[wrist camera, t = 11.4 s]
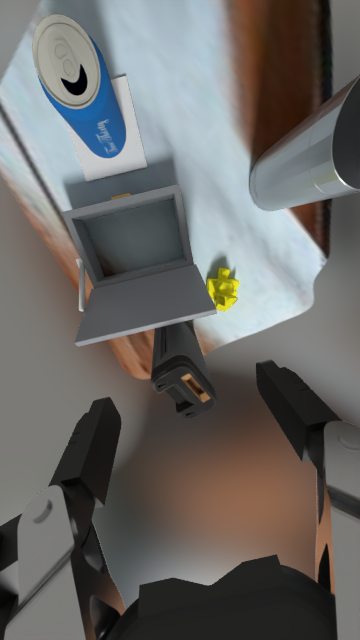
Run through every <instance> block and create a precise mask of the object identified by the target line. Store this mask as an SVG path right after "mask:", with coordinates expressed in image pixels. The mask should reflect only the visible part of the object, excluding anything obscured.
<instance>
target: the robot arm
mask: <svg viewBox="0 0 360 640" xmlns="http://www.w3.org/2000/svg"><path fill="white" fill-rule="evenodd" d="M249 188H250V194H251V197H252V199H253V201H254V203H255V204H256V205H257V206H258V207H259V208H261V209H263V210H266V211H275V210H280V209H284V208H290V207H294V206H298V205H303V204H307V203H312V202H316V201H321V200H325V199H330V198H334V197H339V196H343V195H347V194H351V193H355V192H360V74H359V75H358V76H357V77H356V78H354V79H353V80H352V81H351V82H350V83H348V84H347V85H346V86H345V87H344V88H342V89H341V90H340V91H339V92H338V93H336V94H335V95H334V96H333V97H331V98H330V99H329V100H328V101H327V102H325V103H324V104H323V105H322V106H320V107H319V108H318V109H317V110H316V111H314V112H313V113H312V114H311V115H309V116H308V117H307V118H306V119H305V120H303V121H302V122H301V123H300V124H298V125H297V126H296V127H295V128H294V129H292V130H291V131H290V132H289V133H287V134H286V135H285V136H284V137H283V138H281V139H280V140H279V141H277V142H276V143H275V144H274V145H273V146H271V147H270V148H269V149H268V150H267V151H265V152H264V153H263V154H262V155H261V156H260V157H259V159H258V160H257V161H256V163H255V165H254V167H253V169H252V172H251V176H250V184H249ZM256 374H257V375H256V377H257V387H258V390H259V393H260V395H261V397H262V398H263V400H264V401H265V403H266V405H267V406H268V408H269V410H270V411H271V413H272V414H273V416H274V418H275V419H276V421H277V422H278V424H279V426H280V427H281V429H282V431H283V432H284V434H285V435H286V437H287V439H288V440H289V442H290V443H291V445H292V447H293V448H294V450H295V451H296V453H297V455H298V456H299V458H300V460H301V461H302V462H306V461H310V460H311V461H312V463H313V464H314V466H315V467H316V469H317V471H316V476H317V479H316V480H317V481H316V482H317V537H316V581H315V580H313V579H312V578H310V577H309V576H307V575H306V574H304V573H302V572H300V571H298V570H296V569H294V568H291V567H288V566H285V565H280V562H279V560H278V557H277V555H272V556H268V557H263V558H259V559H254V560H250V561H245V562H242V563H241V564H240V565H238V566H237V567H236V568H234V569H233V570H232V571H230V572H229V573H227V574H226V575H225V576H224V577H222V578H221V579H219V580H218V581H217V582H215V583H214V584H212V585H209V586H207V585H202V584H198V583H193V582H189V581H185V580H181V579H177V578H169V579H165V580H160V581H156V582H152V583H148V584H143V585H140V587H139V588H140V589H139V598H138V599H137V600H136V601H135V602H133V603H132V604H131V605H130V606H129V607H128V608H127V610H126V608H125V605H124V602H123V599H122V597H121V595H120V592H119V590H118V588H117V586H116V584H115V583H114V581H113V579H112V577H111V575H110V572H109V570H108V567H107V564H106V560H105V557H104V554H103V551H102V548H101V545H100V542H99V539H98V536H97V532H96V529H95V526H94V523H93V521H92V515H93V511H94V509H95V508H99V507H104V505H105V501H106V496H107V491H108V487H109V482H110V477H111V473H112V468H113V463H114V458H115V454H116V449H117V444H118V439H119V435H120V430H121V417H120V414H119V413H118V411H117V409H116V407H115V405H114V403H113V401H112V400H111V398H110V397H107V398H102V399H98V400H95V401H93V403H92V405H91V408H90V410H89V412H88V413H85V414H84V415H83V416H82V418H81V419H80V420H79V421H78V423H77V425H76V427H75V429H74V432H73V433H72V436H71V438H70V440H69V442H68V446H67V447H66V449H65V451H64V453H63V455H62V458H61V460H60V462H59V464H58V466H57V469H56V471H55V473H54V475H53V478H52V480H51V482H50V484H49V486H48V487H47V488H45V489H44V490H42V491H41V492H40V493H38V494H37V495H36V496H35V497H34V498H33V499H32V500H31V502H30V503H29V504H28V506H27V507H26V508H25V510H24V512H23V513H22V514H20V515H19V516H17V517H15V518H13V519H12V520H10V521H8V522H7V523H5V524H3V525H2V526H0V640H360V428H359V427H358V426H356V425H353V424H351V423H348V422H344V421H342V420H341V419H340V418H339V417H338V416H337V415H336V414H335V413H334V412H333V411H332V410H331V409H330V408H329V407H328V406H327V405H326V404H325V403H324V402H323V401H322V400H321V399H320V398H319V397H318V396H317V395H316V394H315V393H314V392H313V390H311V389H310V388H309V386H308V385H307V384H306V383H304V382H303V380H302V379H301V378H300V377H299V376H298V375H297V374H296V373H295V372H292V371H291V370H289V369H287V368H285V367H283V368H279V367H278V366H277V365H276V364H275V363H274V362H273V361H272V360H267V361H263V362H258V363H256Z"/></svg>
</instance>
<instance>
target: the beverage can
mask: <svg viewBox="0 0 360 640" xmlns="http://www.w3.org/2000/svg"><path fill="white" fill-rule="evenodd" d="M32 51H33V59H34V64H35V67H36V71H37V73H38V77H39V80H40V83H41V86H42V88H43V90H44V92H45V94H46V96H47V98H48V99H49V101H50V102H51V103H52V105H53V106H54V107H55V108H56V110H57V111H58V112H59V113H60V114H61V116H62V117H63V118H64V119H65V120H66V122H67V123H68V124H69V125H70V126H71V128H72V129H73V130H74V131H75V132H76V134H77V135H78V136H79V137H80V138H81V140H82V141H83V142H84V143H85V144H86V146H87V147H88V148H89V149H90V150H91V151H92V152H93V153H94V154H96V155H97V156H99V157H102V158H113V157H115V156H117V155H118V154H119V153H120V152H121V151H122V150H123V148H124V145H125V142H126V126H125V122H124V119H123V116H122V113H121V110H120V107H119V104H118V101H117V98H116V95H115V92H114V89H113V86H112V83H111V80H110V77H109V74H108V71H107V68H106V64H105V62H104V59H103V56H102V54H101V52H100V50H99V49H98V47H97V45H96V44H95V42H94V41H93V40H92V38H91V37H90V36H89V35H88V34H87V33H86V32H85V31H84V29H83V28H82V27H81V26H80V25H79V24H78V23H76V22H75V21H74V20H72V19H71V18H69V17H67V16H64V15H60V14H52V15H49V16H47V17H45V18H44V19H43V20H41V21H40V23H39V24H38V26H37V28H36V30H35V33H34V37H33V44H32Z"/></svg>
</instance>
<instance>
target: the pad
mask: <svg viewBox="0 0 360 640" xmlns="http://www.w3.org/2000/svg"><path fill="white" fill-rule="evenodd" d="M111 83H112V86H113V89H114V92H115V95H116V98H117V101H118V104H119V107H120V110H121V113H122V116H123V119H124V122H125V126H126V142H125V145H124V148H123V150H122V151H121V152H120V153H119V154H118V155H117V156H115V157H113V158H102V157H99V156H97V155H96V154H94V153H93V152H92V151H91V150H90V149H89V148H88V147H87V146H86V144H85V143H84V142H83V141H82V140H81V138H80V137H79V136H78V135H77V134H76V132H75V131H74V130H73V129H72V128H71V126H70V125H69V124H68V123H67V122H66V120H65V119H64V120H65V123H66V126H67V128H68V131H69V134H70V137H71V140H72V142H73V145H74V148H75V151H76V154H77V156H78V159H79V162H80V165H81V168H82V171H83V173H84V176H85V179H86V181H87V182H89V181H93V180H97V179H101V178H105V177H109V176H113V175H117V174H121V173H125V172H130V171H134V170H138V169H142V168H146V167H147V163H146V159H145V155H144V151H143V146H142V142H141V138H140V133H139V129H138V125H137V121H136V116H135V112H134V108H133V103H132V99H131V95H130V91H129V86H128V82H127V78H126V76H123V77H119V78H115V79H111Z"/></svg>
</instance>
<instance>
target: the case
mask: <svg viewBox="0 0 360 640" xmlns="http://www.w3.org/2000/svg"><path fill="white" fill-rule="evenodd" d="M111 199H112V200H110V201H106V202H102V203H98V204H94V205H90V206H86V207H82V208H77V209H73V210H69V211H65V212H62V215H63V217H64V219H65V222H66V224H67V226H68V229H69V231H70V233H71V236H72V238H73V240H74V243H75V245H76V247H77V250H78V252H79V254H80V257H81V258H80V259H77V260H76V262H77V264H78V266H79V311H84V315H83V317H82V321H81V324H80V327H79V330H78V333H77V336H76V339H75V342H74V343H75V344H76V345H77V346H82V345H87V344H91V343H95V342H99V341H104V340H108V339H112V338H116V337H120V336H125V335H129V334H133V333H137V332H141V331H146V330H150V329H154V328H158V327H163V326H167V325H171V324H175V323H179V322H184V321H188V320H192V319H196V318H201V317H205V316H209V315H213V314H217V310H216V307H215V305H214V303H213V301H212V298H211V296H210V294H209V292H208V290H207V287H206V285H205V283H204V281H203V279H202V277H201V274H200V272H199V270H198V268H197V266H196V264H195V265H194V263H193V257H192V252H191V246H190V241H189V235H188V229H187V224H186V218H185V213H184V207H183V202H182V196H181V191H180V185H179V184H176V185H172V186H168V187H163V188H159V189H155V190H151V191H147V192H143V193H139V194H135V195H131V193H126V194H122V195H118V196H114V197H111ZM169 199H173V203H174V208H175V213H176V218H177V223H178V228H179V233H180V238H181V243H182V248H183V253H184V258H182V259H178V260H174V261H170V262H166V263H162V264H158V265H153V266H149V267H145V268H141V269H137V270H133V271H128V272H124V273H120V274H116V275H112V276H108V277H105V276H104V274H103V271H102V268H101V266H100V263H99V261H98V258H97V256H96V253H95V251H94V248H93V245H92V243H91V240H90V238H89V235H88V233H87V230H86V228H85V225H84V223H83V220H87V219H91V218H95V217H99V216H104V215H108V214H112V213H116V212H120V211H124V210H128V209H132V208H136V207H140V206H145V205H149V204H153V203H157V202H161V201H165V200H169ZM85 268H86V271H87V273H88V275H89V278H90V280H91V282H92V285H93V287H94V289H91V292H90V296H89V299H88V302H87V305H86V308H85Z"/></svg>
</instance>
